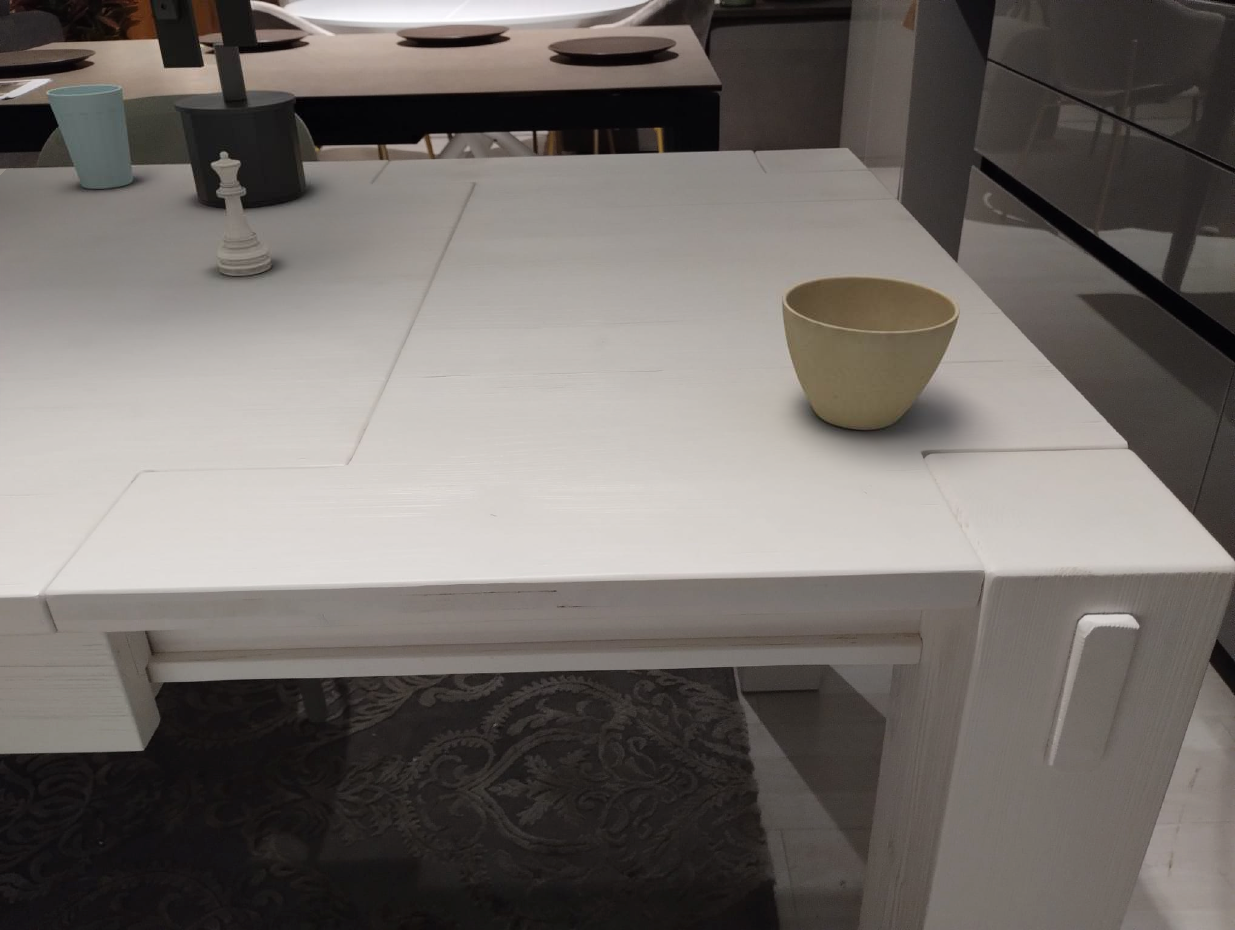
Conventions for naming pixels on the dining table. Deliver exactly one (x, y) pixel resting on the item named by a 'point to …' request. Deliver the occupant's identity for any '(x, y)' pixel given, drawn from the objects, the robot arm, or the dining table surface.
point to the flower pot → (866, 345)
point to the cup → (94, 133)
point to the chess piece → (237, 227)
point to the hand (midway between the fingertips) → (214, 56)
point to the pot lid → (233, 91)
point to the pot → (247, 155)
